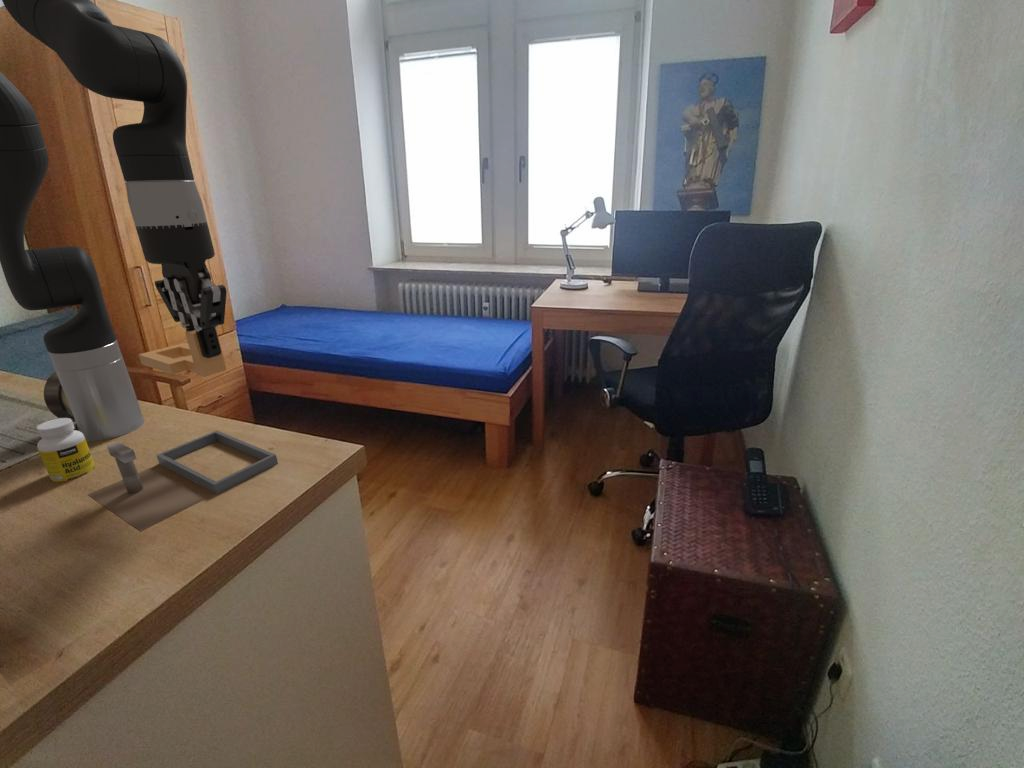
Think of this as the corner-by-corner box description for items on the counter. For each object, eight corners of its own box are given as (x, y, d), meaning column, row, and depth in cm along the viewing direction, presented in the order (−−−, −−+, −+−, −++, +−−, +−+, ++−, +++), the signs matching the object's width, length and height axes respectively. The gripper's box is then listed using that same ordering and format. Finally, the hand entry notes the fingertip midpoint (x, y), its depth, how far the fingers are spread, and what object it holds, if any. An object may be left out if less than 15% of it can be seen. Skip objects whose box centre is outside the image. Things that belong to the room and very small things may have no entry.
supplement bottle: (71, 492, 74) (46, 433, 70) (45, 487, 76) (19, 429, 72) (107, 473, 79) (85, 417, 75) (82, 468, 80) (59, 414, 77)
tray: (161, 471, 79) (156, 455, 78) (221, 445, 86) (216, 430, 85) (219, 502, 71) (214, 484, 69) (279, 471, 78) (275, 454, 77)
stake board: (91, 503, 71) (70, 451, 68) (152, 476, 78) (135, 428, 74) (144, 540, 63) (123, 484, 60) (207, 507, 70) (191, 455, 66)
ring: (141, 364, 73) (128, 324, 70) (187, 351, 78) (176, 314, 75) (191, 380, 66) (179, 337, 63) (238, 366, 71) (228, 325, 68)
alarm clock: (76, 438, 91) (42, 353, 85) (52, 436, 92) (17, 352, 86) (130, 412, 101) (103, 335, 94) (108, 410, 102) (80, 334, 96)
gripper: (111, 222, 62) (153, 355, 68) (166, 224, 55) (207, 372, 61) (175, 218, 68) (208, 340, 74) (232, 219, 61) (263, 354, 67)
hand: (207, 354), depth 68 cm, fingers closed on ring
